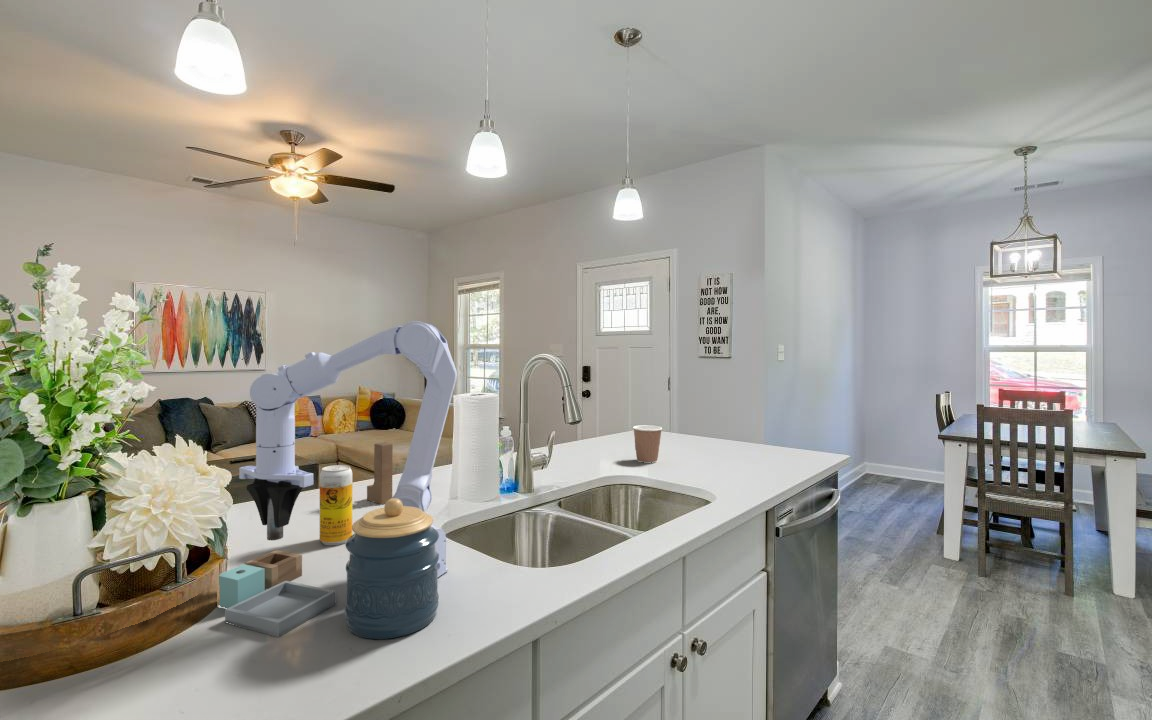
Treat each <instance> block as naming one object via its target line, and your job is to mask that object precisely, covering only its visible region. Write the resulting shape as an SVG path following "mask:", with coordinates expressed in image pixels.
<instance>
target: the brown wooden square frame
mask: <svg viewBox="0 0 1152 720" xmlns="http://www.w3.org/2000/svg"><path fill="white" fill-rule="evenodd" d="M244 564H245V565H250V566H255V567H260V568H265V590H267V589H269V588H271V587H273V586H275V585H277V584H280V583H282V582H284V581H290V582H293V580H296V579H298V578H300V577H302V576H303V555H302V554H298V553H295V552H294V553H293V552H288V551H283V550H278V549H274V550H273V551H270V552H268V553H265V554H263V555H260V556H257V557H256V558H253V559H251V560H248V561H246V562H244Z"/></svg>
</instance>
